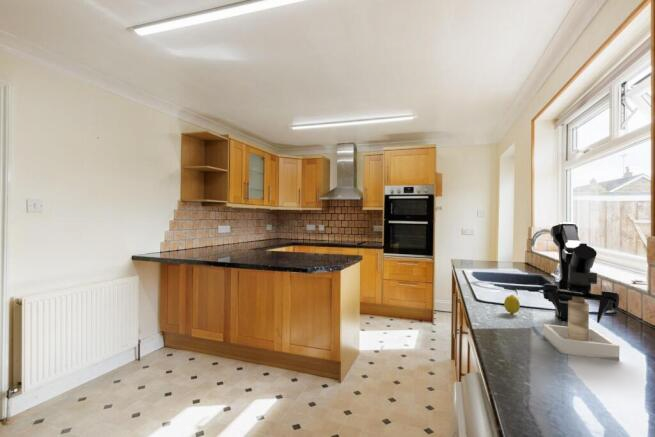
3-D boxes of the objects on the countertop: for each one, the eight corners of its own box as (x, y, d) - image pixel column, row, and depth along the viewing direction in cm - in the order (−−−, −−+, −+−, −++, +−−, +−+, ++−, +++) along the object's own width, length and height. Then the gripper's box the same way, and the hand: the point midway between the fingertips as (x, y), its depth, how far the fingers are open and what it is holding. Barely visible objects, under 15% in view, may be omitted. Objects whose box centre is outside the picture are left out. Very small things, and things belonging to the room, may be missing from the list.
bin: (593, 341, 101) (593, 328, 101) (619, 360, 88) (619, 346, 88) (543, 335, 105) (543, 324, 105) (560, 353, 92) (560, 339, 92)
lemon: (521, 317, 125) (522, 297, 125) (506, 316, 126) (507, 296, 126) (516, 312, 131) (516, 293, 131) (502, 311, 132) (502, 293, 132)
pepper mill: (577, 340, 100) (578, 295, 100) (592, 347, 95) (593, 299, 95) (563, 341, 99) (564, 295, 99) (578, 347, 94) (578, 299, 94)
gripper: (543, 259, 106) (539, 298, 97) (619, 265, 94) (622, 310, 86) (545, 279, 112) (542, 317, 104) (616, 287, 100) (619, 331, 92)
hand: (578, 318), depth 96 cm, fingers open, 9 cm apart
